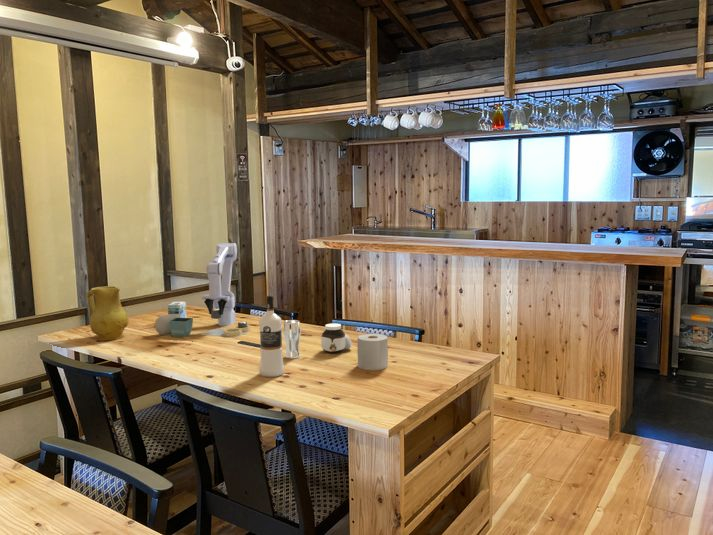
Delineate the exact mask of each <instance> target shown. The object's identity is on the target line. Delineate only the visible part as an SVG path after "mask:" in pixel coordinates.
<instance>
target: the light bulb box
mask: <svg viewBox="0 0 713 535" xmlns="http://www.w3.org/2000/svg"><path fill="white" fill-rule="evenodd" d="M167 311H168V312H167V313H168V314H167V315H170V316H172V317H173V318H188V317H187V302H186V301H172V302H170V303H169V304H167Z"/></svg>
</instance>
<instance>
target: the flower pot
mask: <svg viewBox="0 0 713 535" xmlns="http://www.w3.org/2000/svg"><path fill="white" fill-rule="evenodd" d="M193 322H194V318H193V317H187V318H174V319H172V320H170V321H169V326H170V331H171V333H170V334H171V335H172V337H173V338H186V337H187V336H189V335H191V332H192V329H193V324H194V323H193Z"/></svg>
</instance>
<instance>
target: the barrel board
mask: <svg viewBox="0 0 713 535" xmlns="http://www.w3.org/2000/svg"><path fill="white" fill-rule="evenodd" d="M250 328H251V326H250V325H248V322H247V321H238V322H237V325H236V326H235V327H231V328H213V329H211V330H208V331H206V332H203V333H201V334H200V336H210V337H212V336H213V337H223V338H224V337H227V338H239V337H242V336H244V335H245V334H247V333H250V332H251V329H250Z"/></svg>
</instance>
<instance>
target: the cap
mask: <svg viewBox="0 0 713 535" xmlns="http://www.w3.org/2000/svg"><path fill="white" fill-rule="evenodd" d="M210 318H211V319H212V320H213V319H217V320H218V318H222V315H220V314H219V309H215V308H213V309H212V310H211V314H210Z"/></svg>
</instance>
